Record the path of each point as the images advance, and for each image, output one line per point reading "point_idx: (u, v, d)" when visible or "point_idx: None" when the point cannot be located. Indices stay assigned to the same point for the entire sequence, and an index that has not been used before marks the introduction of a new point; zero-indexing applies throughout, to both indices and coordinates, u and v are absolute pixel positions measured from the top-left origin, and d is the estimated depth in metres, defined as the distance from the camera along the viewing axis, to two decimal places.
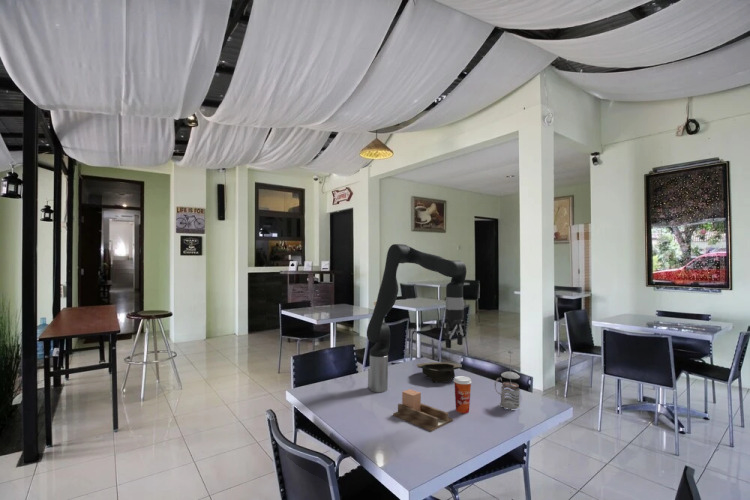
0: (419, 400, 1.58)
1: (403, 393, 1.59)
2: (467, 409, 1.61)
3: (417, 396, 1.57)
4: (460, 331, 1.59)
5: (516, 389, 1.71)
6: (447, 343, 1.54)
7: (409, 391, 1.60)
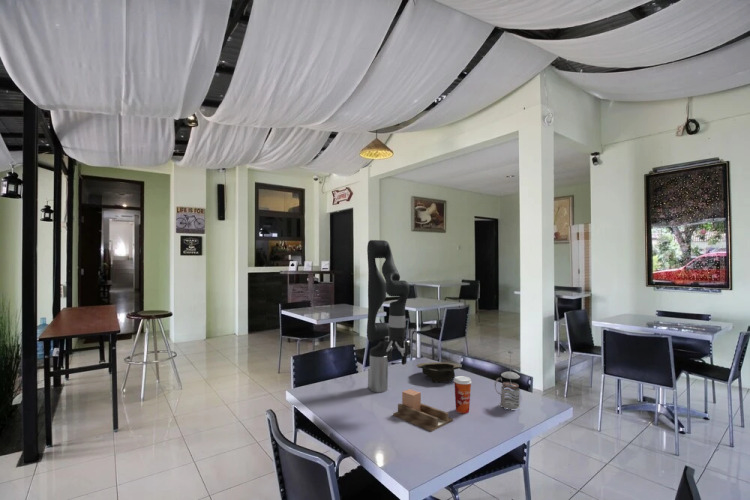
0: (419, 400, 1.58)
1: (403, 393, 1.59)
2: (467, 409, 1.61)
3: (417, 396, 1.57)
4: None
5: (516, 389, 1.71)
6: (405, 359, 1.63)
7: (409, 391, 1.60)
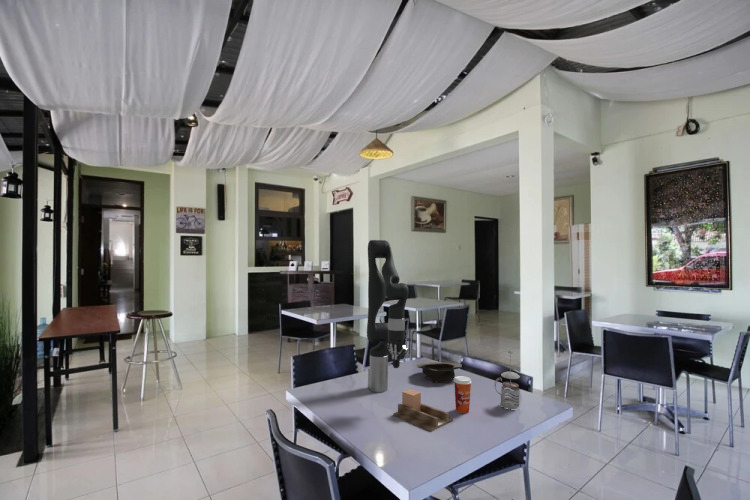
0: (419, 400, 1.58)
1: (403, 393, 1.59)
2: (467, 409, 1.61)
3: (417, 396, 1.57)
4: None
5: (516, 389, 1.71)
6: (398, 363, 1.65)
7: (409, 391, 1.60)
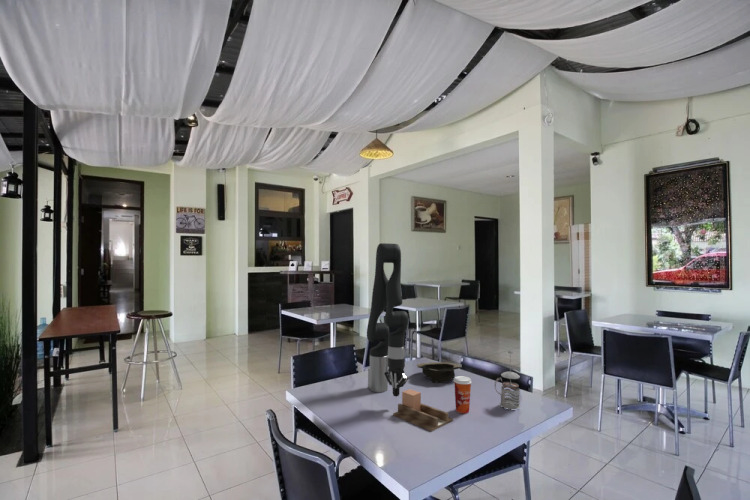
0: (419, 400, 1.58)
1: (403, 393, 1.59)
2: (467, 409, 1.61)
3: (417, 396, 1.57)
4: None
5: (516, 389, 1.71)
6: (398, 391, 1.65)
7: (409, 391, 1.60)
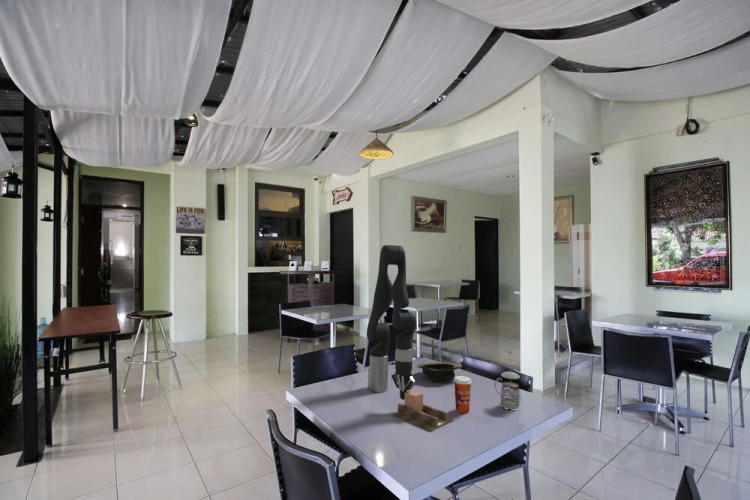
0: (421, 401, 1.57)
1: (405, 394, 1.58)
2: (467, 409, 1.61)
3: (419, 397, 1.56)
4: None
5: (516, 389, 1.71)
6: None
7: (411, 392, 1.59)
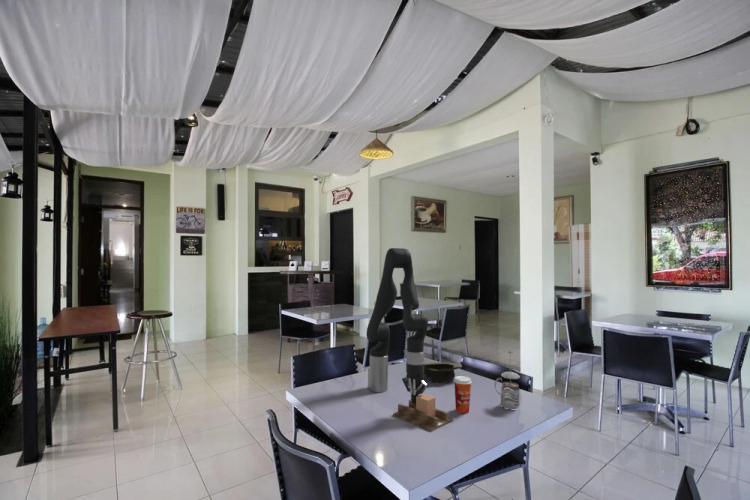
0: (434, 405, 1.53)
1: (417, 398, 1.54)
2: (467, 409, 1.61)
3: (432, 401, 1.52)
4: None
5: (516, 389, 1.71)
6: None
7: (423, 396, 1.54)
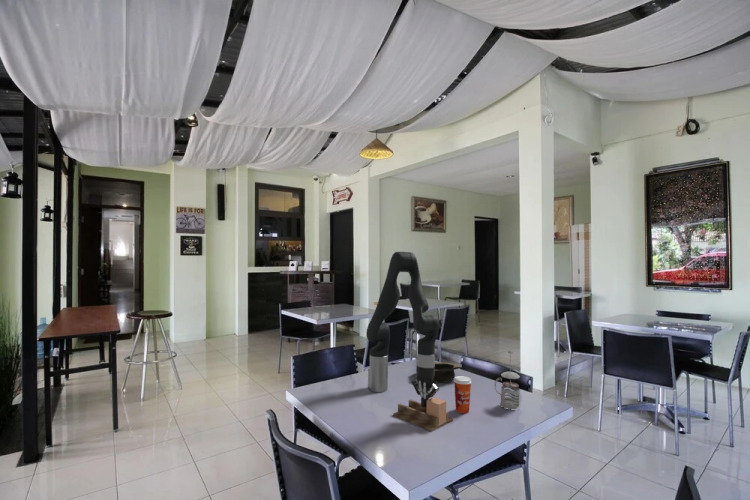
0: (445, 409, 1.49)
1: (427, 402, 1.50)
2: (467, 409, 1.61)
3: (443, 405, 1.48)
4: None
5: (516, 389, 1.71)
6: None
7: (433, 400, 1.50)
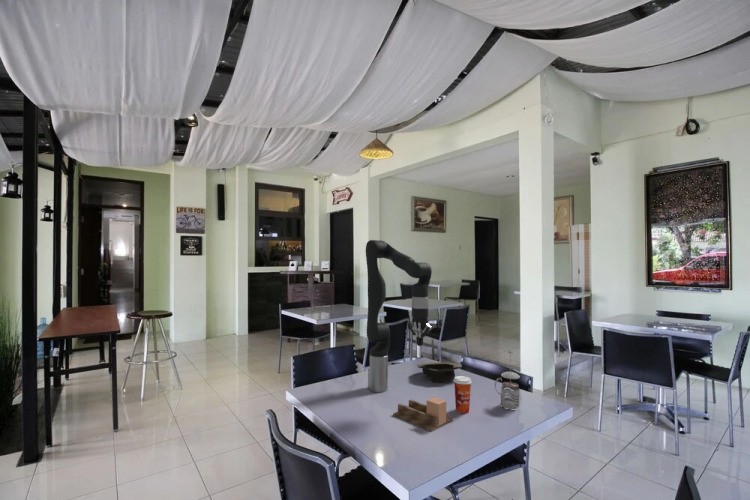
0: (445, 409, 1.49)
1: (427, 402, 1.50)
2: (467, 409, 1.61)
3: (443, 405, 1.48)
4: None
5: (516, 389, 1.71)
6: (422, 341, 1.68)
7: (433, 400, 1.50)
